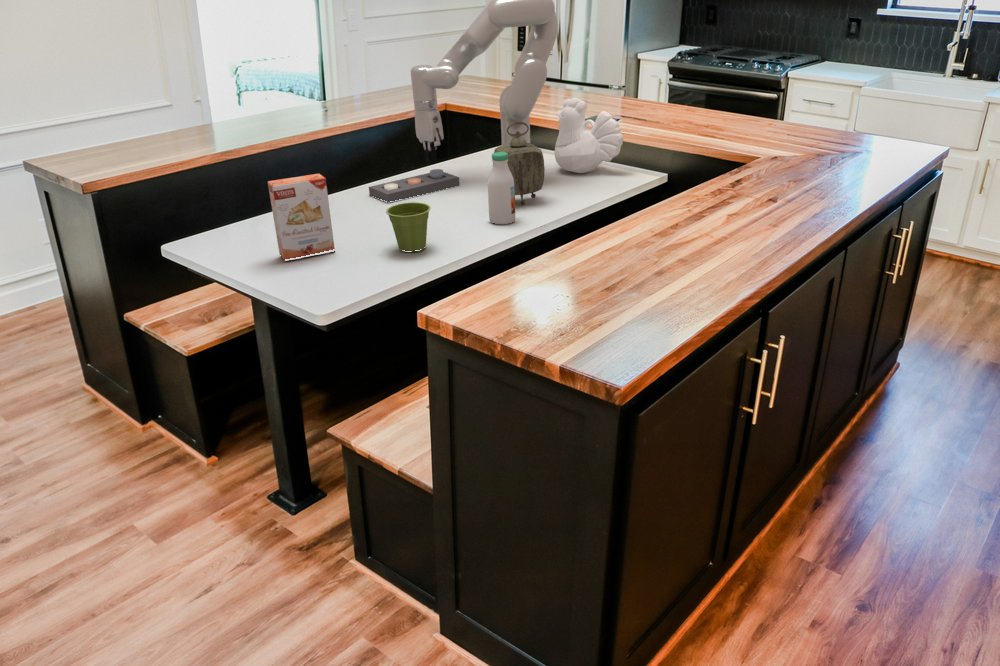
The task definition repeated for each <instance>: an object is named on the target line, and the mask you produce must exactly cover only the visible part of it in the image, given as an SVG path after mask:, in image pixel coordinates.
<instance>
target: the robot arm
mask: <svg viewBox="0 0 1000 666" xmlns="http://www.w3.org/2000/svg"><path fill="white" fill-rule="evenodd" d="M555 10H556V7H555V3H554V1H553V0H490V2H489V3H488V4H487V5H486V7H485V8H483V10H482V11H481V12H480V14H478V16H477V17H476V18H475V20H473V21H472V23H471V24H470V25H469V27H468V28H467V29H466V30H465V32H463V34H462V35H461V36H460V38H459V39H458V40H457V41H456V42H455V43H454V44H453V45H452V46H451V48H449V50H448V51H447V53H446V54H445V55H444V56H443V57H442V58H441V60H440V61H439V62H438V64H437V65H436V66H432V65H430V64H429V65H428V64H419V65H414V66H413V67H411V69H410V77H411V78H410V79H411V89H412V98H413V107H414V129H415V135H416V138H417V139H418V141H419V142H420V143H421V144H422V145H423V150H424V152H425V161H426V162H427V163H429V164H431V163H434V162H437V161H438V158H437V148H438V146H441V141H443V140H444V139H445V138H444V130H443V129H444V128H443V123H442V117H441V114H440V110H439V108H438V98H437V89H440V90H450V89H453V88H455V87H456V85H457V84H458V83H459V81H460V80H459V79H460V75H461V74H462V72H463V71H464V70H465V69H466V68H467V66H468V65H469V64H470V63H471V62H472V61H473V60H474V59H475V58H477V57H478V56H480V55H482V54H483V53H484V52H486V51H487V50H488V49H489V48H490V46H491V45H492V44H493V43H494V41H495V40H496V39H497V38H498V37H499V35H500V34H501V33H503V31H504V30H505V28H519V27H528V26H529V27H530V30H529V34H528V36H527V39H526V42H525V44H524V46H523V48H522V49H521V53H520V55H519V57H518V59H517V61H516V62H515V65H514V73H515V75H514V77H513V79H512V81H511V84H510V85H508V86H506V87H505V88H503V90H502V92H501V93H500V96H499V112H500V113H499V114H500V129H501V132H500V133H501V146H502V145H506V144H510V142H511V140H512V139H513V138H514V137H516V136H510V135H509V134H508V133H507V128H508V126H509V125H510V124H512V123H514V122H524V123H526V124H527V125H528V127H529V130H528V132H527V133H526V134H524V135H522V136H520V137H522V138H524V139H525V140H526V143H530V144H531V124H530V123H531V122H530V121H531V120H530V114H531V113H532V111H533V109H534V107H535V105H536V103H537V101H538V99H539V96H540V94H541V93H542V90H543V88H544V86H545V83H546V80H547V77H548V69H547V65H546V64H547V63H548V59H549V57H550V55H551V52H552V51H553V48H554V45H555V43H556V40H557V36H558V27H559V25H558V17H557V14H556V11H555ZM517 131H519V132H520V134H521V133H524V132H526V131H527V127H526V126H525V125H523V124H516V125H513V126H511V127H510V128H509V129H508V132H509V133H511V134H516V132H517Z"/></svg>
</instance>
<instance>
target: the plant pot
mask: <svg viewBox="0 0 1000 666" xmlns="http://www.w3.org/2000/svg"><path fill="white" fill-rule="evenodd" d="M431 209H432V207H431V205H429V204H428V203H425V202H418V201H417V202H416V201H415V202H414V201H413V202H411V201H410V202H403V203H398V204H394V205H391V206H389V207H388V208H387V209H386V210H385V213H386V214H387V216H388V218H389V220H390V221H389V222H391V225H392V228H393V232H394V235H395V238H396V243H397V247H398V249H399V250H400V249H401V250H405V251H414V252H416V251H415V250H420V249H423V248H424V247H425V246H426V247H427V235H428V234H427V231H428V219H429V213H430V211H431Z"/></svg>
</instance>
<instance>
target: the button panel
mask: <svg viewBox="0 0 1000 666" xmlns="http://www.w3.org/2000/svg"><path fill="white" fill-rule="evenodd" d="M411 178H420V179H421V183H418V184H414V185H411V184H408V179H411ZM390 183H395V184H398V188H397V189H393V190H386V189H384V185H386V184H390ZM459 185H460V176H457V175H454V174H451V173H448V172H446V171H445V172H444V171H443V178H439V179H432V178H430V172H427V173H422V174H418V175H415V176H410V177H406V178H401V179H398V180H397V179H396V180H392V181H388V182H384V183H379V184H374V185H372V186H368V194H369V196H370V195H371V196H374V197H376V198H379V199H382V200H385V201H387V202H390V201H395V200H399V199H404V200H406V199H405V198H408V199H410V198H409V197H412V198H414V197H413V196H416V197H418V196H417V195H420V196H423V195H422V194H424V195H427V194H426V193H428V194H432V193H436V192H440V191H443V189H444V190H447V189H446V188H449V189H452V188H451V187H453V188H456V187H455V186H457V187H460V186H461V185H460V186H459ZM439 190H440V191H439ZM435 191H436V192H435ZM431 192H432V193H431ZM371 196H370V197H371ZM374 197H373V198H374ZM376 198H375V199H376ZM379 199H378V200H379Z"/></svg>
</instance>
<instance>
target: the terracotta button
mask: <svg viewBox="0 0 1000 666" xmlns="http://www.w3.org/2000/svg"><path fill="white" fill-rule="evenodd" d="M418 183H421V179H420V178H411V179H408V184H411V185H414V184H418Z"/></svg>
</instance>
